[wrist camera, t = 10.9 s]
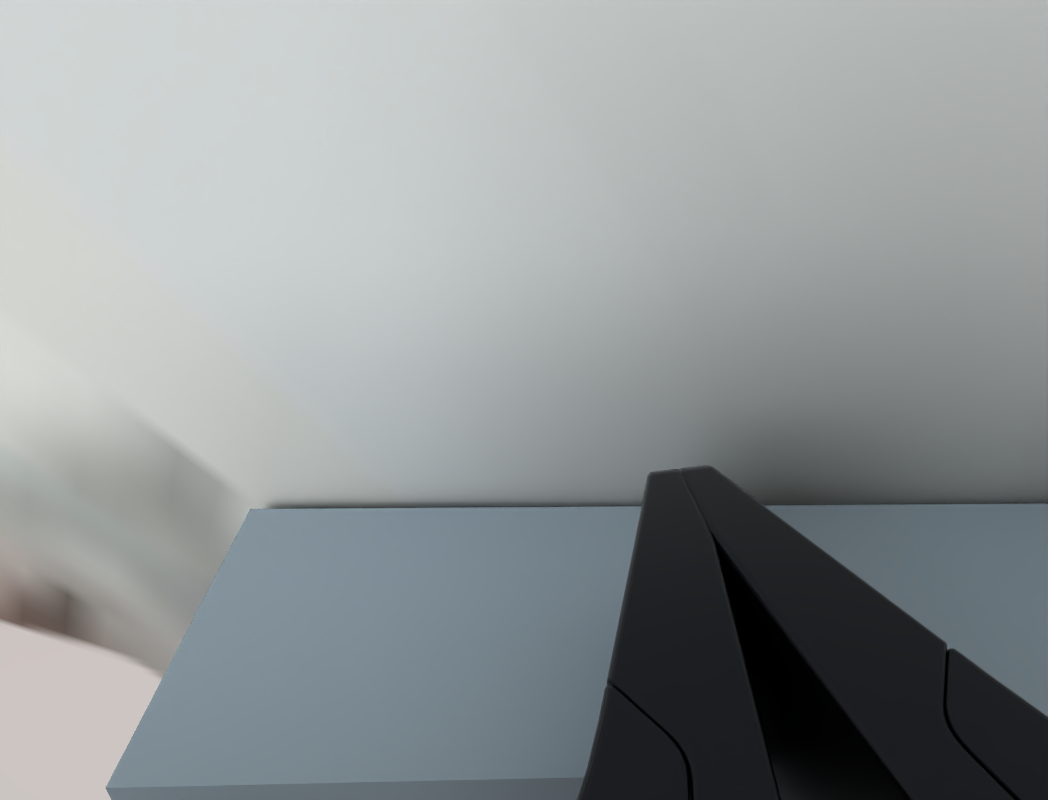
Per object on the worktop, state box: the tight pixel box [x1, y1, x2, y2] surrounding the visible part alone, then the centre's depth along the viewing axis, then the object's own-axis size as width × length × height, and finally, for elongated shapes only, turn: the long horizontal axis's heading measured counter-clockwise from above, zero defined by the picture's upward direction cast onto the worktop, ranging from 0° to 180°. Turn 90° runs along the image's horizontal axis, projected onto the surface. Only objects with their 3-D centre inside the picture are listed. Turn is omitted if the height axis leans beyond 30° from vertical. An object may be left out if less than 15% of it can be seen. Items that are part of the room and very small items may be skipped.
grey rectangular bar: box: [106, 504, 1048, 800], centre depth 9 cm, size 15×2×4 cm, turn 89°
